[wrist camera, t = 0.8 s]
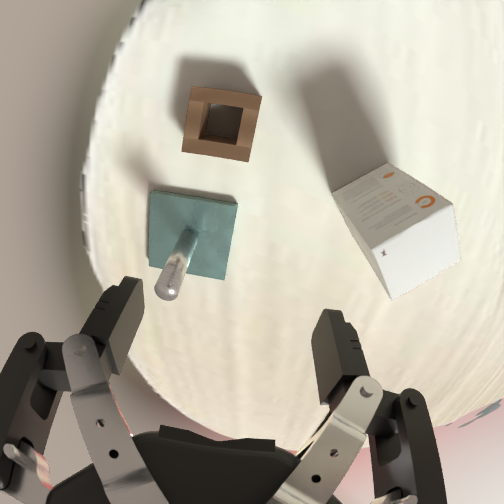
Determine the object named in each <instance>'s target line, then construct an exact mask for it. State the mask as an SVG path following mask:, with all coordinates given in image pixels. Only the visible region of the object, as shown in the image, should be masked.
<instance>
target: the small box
mask: <svg viewBox="0 0 504 504" xmlns="http://www.w3.org/2000/svg"><path fill="white" fill-rule="evenodd" d="M332 196H333V198H334V200H335V202H336V204H337V206H338V208H339V210H340V212H341V214H342V216H343V218H344V220H345V222H346V224H347V226H348V228H349V230H350V232H351V234H352V236H353V238H354V239H355V241H356V242H357V244H358V246H359V247H360V249H361V251H362V252H363V254H364V256H365V257H366V259H367V260H368V262H369V263H370V265H371V267H372V268H373V270H374V272H375V274H376V275H377V277H378V279H379V280H380V282H381V284H382V285H383V287H384V289H385V290H386V292H387V294H388V296H389V297H390V299H391V300H392V301H393V300H395V299H396V298H398V297H400V296H402V295H404V294H405V293H407V292H409V291H411V290H412V289H414V288H416V287H418V286H419V285H421V284H423V283H424V282H426V281H428V280H429V279H431V278H433V277H434V276H436V275H438V274H439V273H441V272H442V271H444V270H446V269H447V268H449V267H450V266H452V265H453V264H455V263H457V262H458V261H460V260H461V253H460V246H459V238H458V232H457V225H456V219H455V213H454V208H453V203H451V202H450V201H448V200H447V199H445V198H444V197H442V196H441V195H439V194H438V193H436V192H435V191H433V190H432V189H430V188H429V187H427V186H426V185H424V184H423V183H421V182H419V181H418V180H416V179H414V178H413V177H411V176H410V175H408V174H406V173H405V172H403V171H401V170H400V169H398V168H396V167H394V166H393V165H391V164H389V163H386V164H384V165H383V166H381V167H379V168H377V169H375V170H373V171H371V172H369V173H368V174H366V175H364V176H362V177H360V178H358V179H356V180H355V181H353V182H351V183H349V184H347V185H346V186H344V187H342V188H340V189H338V190H337V191H335V192H333V193H332Z"/></svg>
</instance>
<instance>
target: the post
mask: <svg viewBox="0 0 504 504" xmlns="http://www.w3.org/2000/svg"><path fill="white" fill-rule="evenodd" d="M237 207H238V204H236V203H230V202H225V201H219V200H213V199H207V198H201V197H195V196H189V195H183V194H176V193H170V192H163V191H156V190H153V191H152V192H151V195H150V217H149V266H151V267H156V268H161V269H163V270H162V272H161V274H160V277H159V279H158V281H157V283H156V285H155V293H156V294H157V296H158V297H160V298H161V299H163V300H167V301H171V300H174V299H175V298H176V297H177V296H178V293H179V290H180V287H181V284H182V282H183V279H184V276H185V273H187V274H193V275H198V276H203V277H209V278H215V279H220V280H224V279H225V273H226V267H227V262H228V256H229V251H230V245H231V239H232V234H233V228H234V223H235V218H236V212H237Z"/></svg>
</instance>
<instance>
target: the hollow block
mask: <svg viewBox="0 0 504 504" xmlns="http://www.w3.org/2000/svg"><path fill="white" fill-rule="evenodd" d="M261 99H262V96H258V95H252V94H247V93H241V92H234V91H228V90H221V89H213V88H204V87H195V86H192V88H191V93H190V99H189V105H188V111H187V117H186V123H185V130H184V137H183V144H182V152H187V153H194V154H201V155H208V156H214V157H221V158H227V159H232V160H238V161H244V162H249V157H250V152H251V147H252V142H253V137H254V133H255V128H256V123H257V118H258V114H259V109H260V104H261ZM211 103H214V104H222V105H228V106H235V107H241V108H243V113H242V118H241V123H240V128H239V134H238V139H231V138H225V137H219V136H212V135H205V134H206V128H207V122H208V116H209V111H210V105H211Z"/></svg>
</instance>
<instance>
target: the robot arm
mask: <svg viewBox="0 0 504 504" xmlns="http://www.w3.org/2000/svg"><path fill="white" fill-rule="evenodd" d="M143 314H144V294H143V282H142V279H138V278H133V277H128V276H125V277H124V278H123V280H122V281H121V283H120V285H119V286H115V285H112V286H111V287H110V288H108V289H107V290H106V291H104V293H103V294H102V296H101V298H100V299H99V302H98V303H97V304H96V306H95V308H94V309H93V311H92V313H91V314H90V316H89V318H88V319H87V321H86V323H85V324H84V326H83V328H82V330H81V331H80V333H79V334H75V335H72V336H70V337H69V338H67V339H66V340H65V341H64V342H45V340H44V338H43V337H42V336H41V335H40V334H39V333H36V332H29V333H26V334H24V335H23V336H21V337H20V338H19V340H18V341H17V343H16V345H15V347H14V349H13V350H12V352H11V354H10V356H9V358H8V360H7V362H6V364H5V365H4V367H3V369H2V372H1V373H0V492H2V493H4V494H7V495H9V496H12V497H14V498H15V499H17V500H19V501H21V502H22V503H24V504H342V503H341V502H340V501H339V500H338V499H337V498H336V497H335V496H334V495H333V492H334V491H335V490H336V488H337V486H338V485H339V484H340V482H341V480H342V479H343V477H344V476H345V474H346V473H347V471H348V469H349V467H350V466H351V465H352V463H353V461H354V459H355V458H356V456H357V454H358V453H359V451H360V449H361V447H362V445H363V444H364V442H365V440H366V436H367V435H366V434H368V437H369V445H370V452H371V461H372V471H373V482H374V494H375V500H373V501H372V502H371V503H370V504H447V498H446V491H445V485H444V479H443V473H442V468H441V462H440V457H439V453H438V448H437V444H436V439H435V435H434V431H433V427H432V423H431V420H430V416H429V412H428V409H427V405H426V402H425V399H424V397H423V395H422V394H421V393H420V392H419V391H417V390H415V389H412V388H408V389H405V390H403V391H402V392H401V393H400V394H396V393H392V392H389V391H385V390H383V389H382V387H381V385H380V383H379V382H378V381H377V380H375V379H374V378H372V377H370V374H369V371H368V367H367V364H366V360H365V357H364V354H363V350H361V348H362V347H361V344H360V342H359V338H358V334H357V331H356V330H355V329H354V327H353V326H352V325H351V324H350V323H347V322H345V320H344V317H343V313H342V311H340V310H332V309H324V310H323V312H322V314H321V316H320V318H319V320H318V323H317V325H316V327H315V329H314V331H313V334H312V340H311V344H312V351H313V358H314V364H315V371H316V378H317V384H318V392H319V399H320V405H329V408H330V410H329V412H328V413H327V414H326V416H325V417H324V418H323V420H322V421H321V423H320V424H319V426H318V427H317V428H316V430H315V431H314V432H313V434H312V435H311V436H310V438H309V439H308V440H307V442H306V443H305V444H304V445H303V446H302V447H301V448H300V450H299V451H298V452H297V453H296V454H295V455H293V454H292V453H290V452H288V451H286V450H285V449H282V448H279V447H276V446H275V440H270V439H253V438H244V439H236V440H228V441H214V440H212V439H209V438H206V437H203V436H201V435H198V434H196V433H194V432H191V431H189V430H184V429H179V428H174V427H169V426H164V425H160V430H159V431H150V432H145V433H141V434H138V435H135V436H132V433H131V432H130V429H129V427H128V425H127V423H126V421H125V419H124V417H123V415H122V412H121V410H120V408H119V405H118V403H117V401H116V398H115V396H114V394H113V391H112V388H111V386H110V383H109V378H110V376H111V373H113V374H117V375H120V373H121V370H122V367H123V365H124V362H125V359H126V357H127V354H128V352H129V349H130V347H131V344H132V342H133V339H134V337H135V335H136V332H137V330H138V327H139V325H140V323H141V320H142V318H143ZM63 391H72V394H71V396H70V397H71V402H72V406H73V409H74V412H75V415H76V418H77V421H78V424H79V427H80V430H81V433H82V436H83V438H84V441H85V444H86V446H87V449H88V451H89V454H90V456H91V459H92V461H93V463H92V464H90V465H89V466H87V467H85V468H84V469H82V470H80V471H79V472H77V473H76V474H74V475H72V476H71V477H69V478H67V479H66V480H64V481H62V482H60V483H59V484H57V485H56V486H54V487H53V486H52V485H51V482H50V478H49V473H50V470H49V464H48V462H47V460H46V459H45V457H44V456H43V454H44V450H45V446H46V442H47V439H48V436H49V433H50V429H51V426H52V423H53V420H54V417H55V414H56V411H57V408H58V405H59V402H60V399H61V397H62V394H63Z"/></svg>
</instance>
